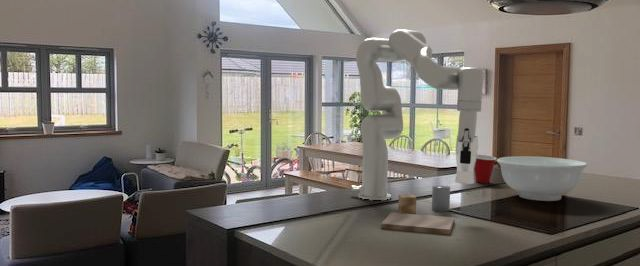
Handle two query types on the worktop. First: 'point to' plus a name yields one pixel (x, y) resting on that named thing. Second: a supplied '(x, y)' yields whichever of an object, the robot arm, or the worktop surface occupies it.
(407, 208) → the teak block
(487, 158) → the plastic cup
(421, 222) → the walnut board
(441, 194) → the cylinder
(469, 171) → the beer glass
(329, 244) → the worktop surface
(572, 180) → the bowl
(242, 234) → the worktop surface
